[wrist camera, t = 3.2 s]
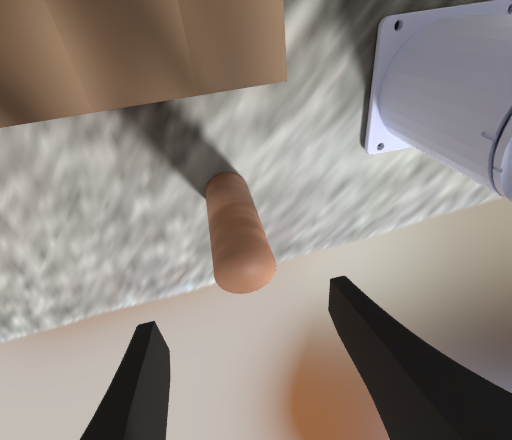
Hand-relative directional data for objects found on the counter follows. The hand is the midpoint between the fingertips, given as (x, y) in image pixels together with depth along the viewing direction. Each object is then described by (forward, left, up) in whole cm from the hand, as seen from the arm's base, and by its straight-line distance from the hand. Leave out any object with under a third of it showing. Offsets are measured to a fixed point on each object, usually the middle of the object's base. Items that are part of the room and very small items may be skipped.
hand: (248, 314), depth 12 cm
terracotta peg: (0, 0, -10) cm, 10 cm away
